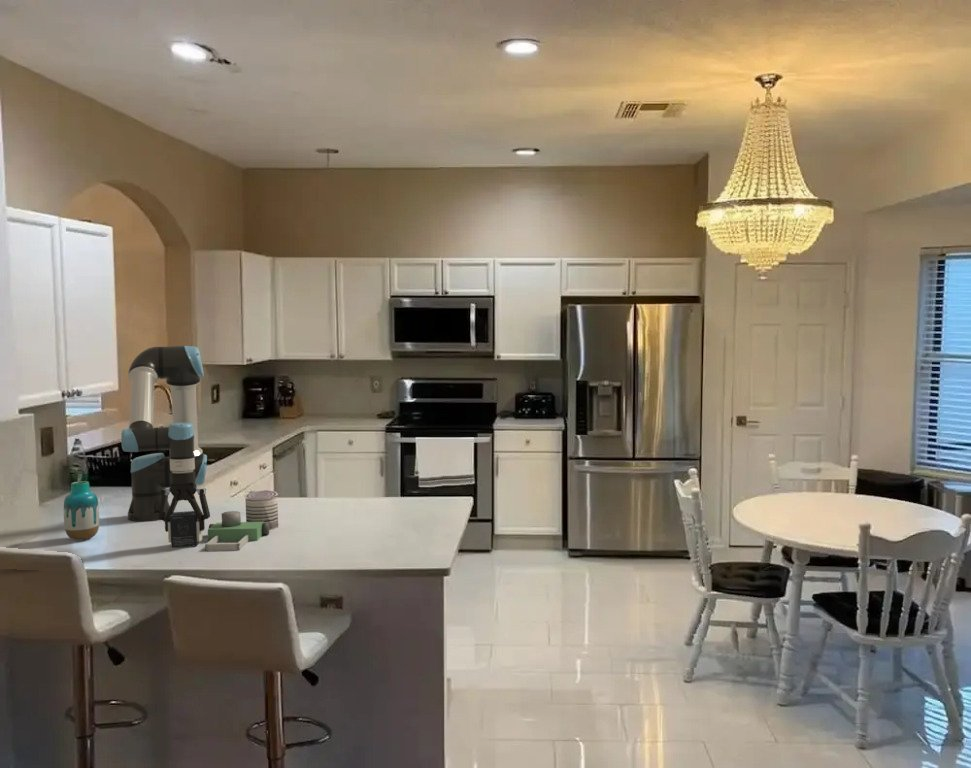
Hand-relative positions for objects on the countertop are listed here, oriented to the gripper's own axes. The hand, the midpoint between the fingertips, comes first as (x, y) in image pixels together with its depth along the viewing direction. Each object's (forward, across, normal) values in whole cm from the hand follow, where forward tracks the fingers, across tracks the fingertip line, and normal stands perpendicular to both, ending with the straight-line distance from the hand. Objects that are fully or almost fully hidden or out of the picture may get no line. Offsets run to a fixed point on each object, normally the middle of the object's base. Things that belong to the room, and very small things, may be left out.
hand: (185, 540), depth 270 cm
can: (+2, +19, +23) cm, 30 cm away
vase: (+2, -38, +11) cm, 40 cm away
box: (+2, 0, 0) cm, 2 cm away
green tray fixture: (+1, +14, +3) cm, 14 cm away
